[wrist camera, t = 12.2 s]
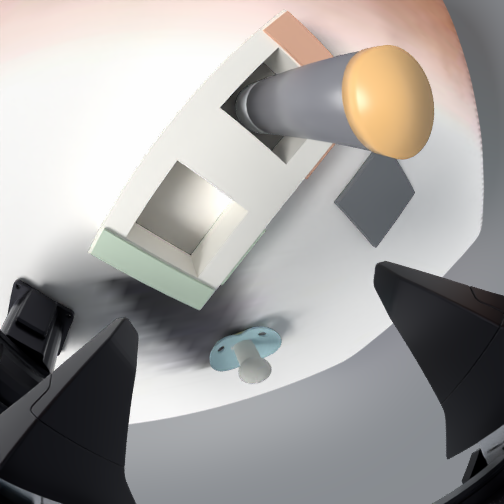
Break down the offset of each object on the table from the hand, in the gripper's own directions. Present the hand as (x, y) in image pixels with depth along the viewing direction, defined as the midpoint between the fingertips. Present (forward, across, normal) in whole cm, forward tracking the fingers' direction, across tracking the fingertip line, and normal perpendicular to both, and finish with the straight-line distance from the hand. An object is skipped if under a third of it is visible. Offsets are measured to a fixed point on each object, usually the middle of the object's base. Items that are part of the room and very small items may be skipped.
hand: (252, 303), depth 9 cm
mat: (+16, +14, -5) cm, 22 cm away
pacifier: (+12, -3, -17) cm, 20 cm away
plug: (+14, +3, +5) cm, 15 cm away
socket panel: (+13, 0, +2) cm, 13 cm away
